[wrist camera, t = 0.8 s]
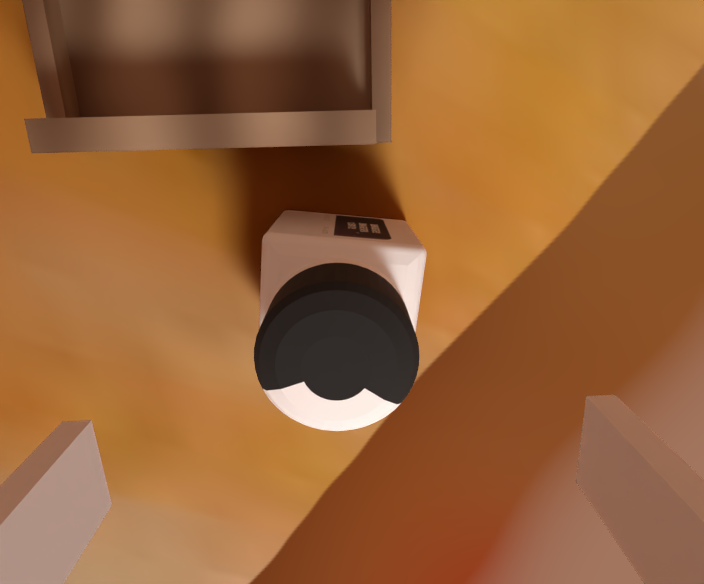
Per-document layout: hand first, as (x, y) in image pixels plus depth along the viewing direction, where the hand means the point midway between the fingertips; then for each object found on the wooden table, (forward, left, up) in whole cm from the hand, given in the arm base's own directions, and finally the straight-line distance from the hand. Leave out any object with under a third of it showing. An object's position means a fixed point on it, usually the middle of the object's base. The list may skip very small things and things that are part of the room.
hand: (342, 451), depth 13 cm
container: (0, 0, -19) cm, 19 cm away
